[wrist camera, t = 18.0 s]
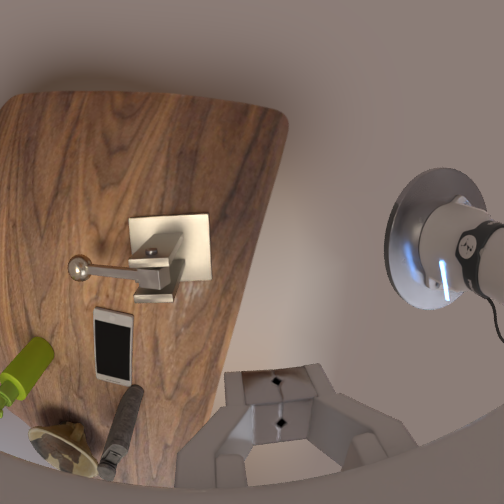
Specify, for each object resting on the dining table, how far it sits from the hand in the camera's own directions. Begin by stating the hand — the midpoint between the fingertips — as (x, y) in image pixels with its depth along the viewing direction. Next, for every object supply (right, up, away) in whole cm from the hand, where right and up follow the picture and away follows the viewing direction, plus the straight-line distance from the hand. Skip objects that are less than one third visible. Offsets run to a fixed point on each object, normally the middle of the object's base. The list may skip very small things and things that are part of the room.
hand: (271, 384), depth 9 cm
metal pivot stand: (-13, +5, +36) cm, 38 cm away
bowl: (-43, -38, +44) cm, 72 cm away
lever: (-17, +2, +26) cm, 32 cm away
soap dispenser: (-43, -15, +38) cm, 59 cm away
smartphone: (-25, -13, +39) cm, 48 cm away
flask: (-26, -27, +43) cm, 57 cm away
